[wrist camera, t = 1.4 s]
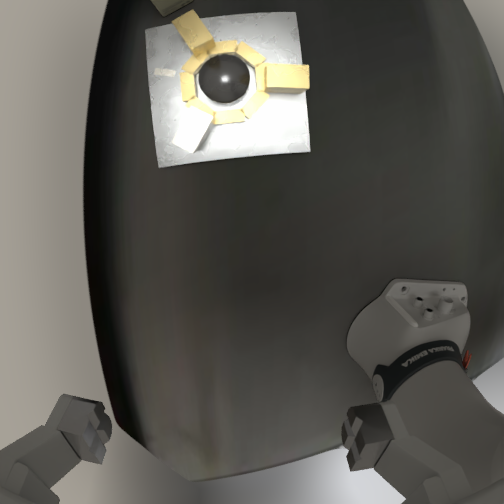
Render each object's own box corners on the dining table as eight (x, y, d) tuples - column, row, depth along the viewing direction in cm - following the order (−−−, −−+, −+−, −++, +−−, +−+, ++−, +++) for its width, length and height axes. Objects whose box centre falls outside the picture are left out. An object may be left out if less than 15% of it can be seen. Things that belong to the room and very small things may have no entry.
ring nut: (293, 16, 27) (300, 1, 23) (306, 140, 32) (315, 142, 28) (169, 28, 27) (160, 15, 23) (181, 153, 32) (173, 156, 28)
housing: (293, 16, 28) (301, 0, 23) (307, 150, 35) (318, 154, 30) (149, 33, 28) (135, 20, 23) (162, 166, 35) (149, 172, 30)
